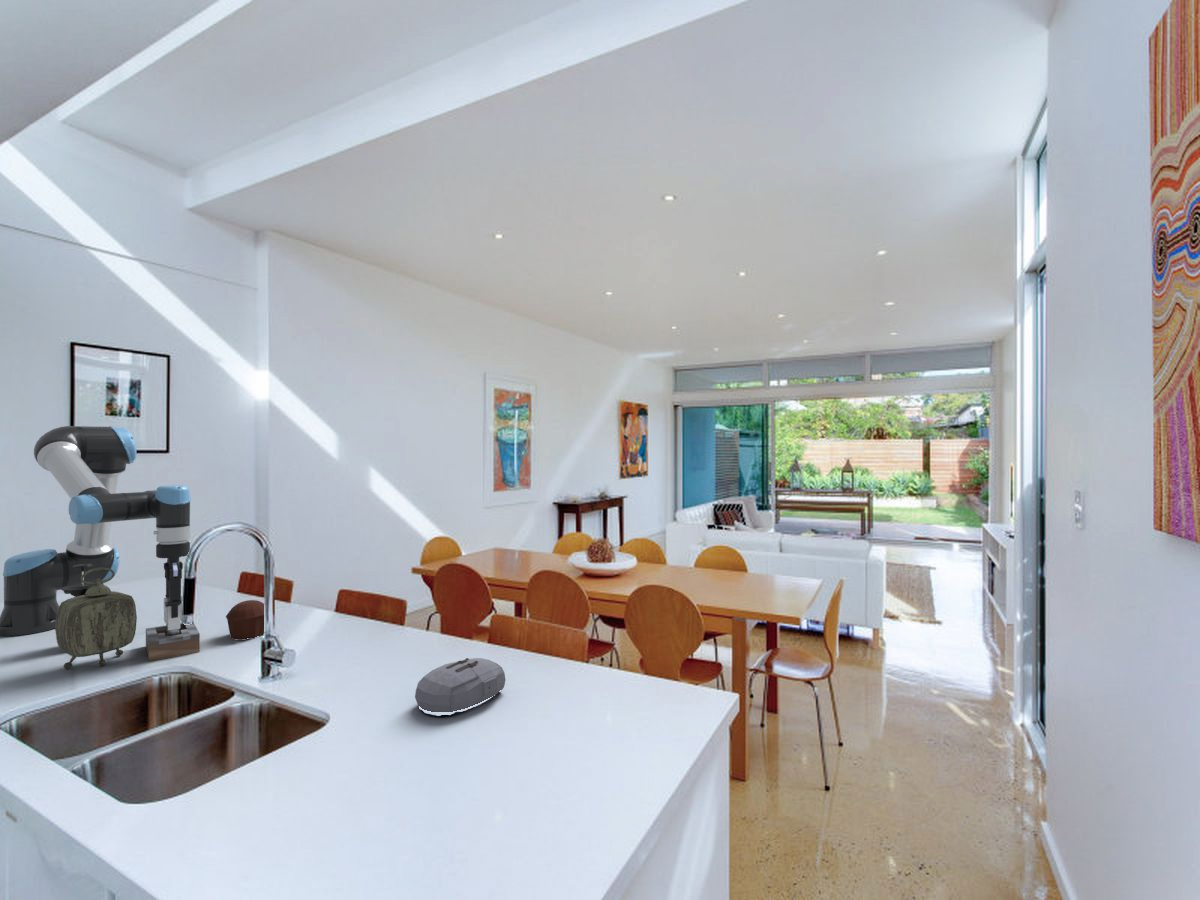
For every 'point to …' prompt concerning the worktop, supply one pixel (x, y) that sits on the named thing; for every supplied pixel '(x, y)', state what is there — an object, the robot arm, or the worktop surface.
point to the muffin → (246, 620)
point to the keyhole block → (172, 642)
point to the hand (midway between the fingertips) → (173, 626)
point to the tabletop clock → (95, 621)
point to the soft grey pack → (459, 685)
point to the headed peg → (166, 601)
